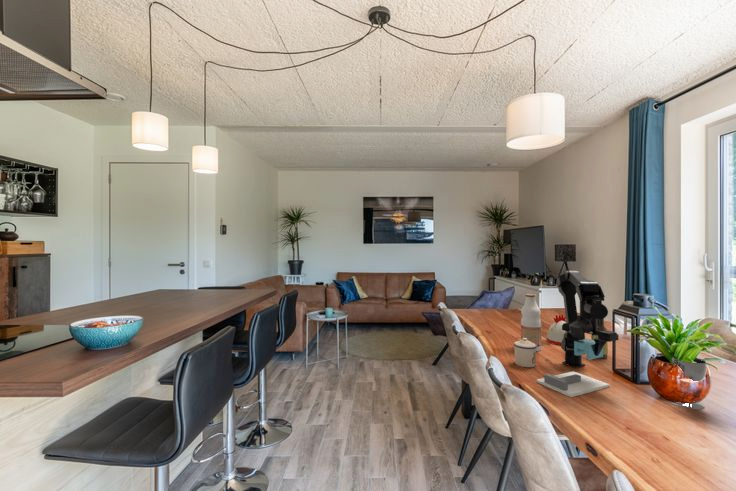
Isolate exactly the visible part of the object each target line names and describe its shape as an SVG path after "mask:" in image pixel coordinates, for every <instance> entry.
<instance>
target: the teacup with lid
mask: <svg viewBox="0 0 736 491" xmlns="http://www.w3.org/2000/svg"><path fill="white" fill-rule="evenodd" d="M513 346H514V364H515V365H517V366H519V367H523V368H534V367H536V366H537V351H536V345H535V344H534V343H532V342H530V341H528V340H527V338H523V340H521V339H520V340H517V341H515V342H514V343H513Z"/></svg>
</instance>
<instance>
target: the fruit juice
mask: <svg viewBox="0 0 736 491" xmlns="http://www.w3.org/2000/svg"><path fill="white" fill-rule="evenodd" d="M536 298H537V294H534V293H526V294H525V302H524V304H523V306H522V307H521V310H520V313H521V318H520V340H523V338H527V340H528V341H530V342H532V343H534V344H535V345H536V352H540V351H541V350H542V320H541V315H542V310H541V309H540V307H539V305H538V303H537V300H536Z"/></svg>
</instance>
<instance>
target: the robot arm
mask: <svg viewBox="0 0 736 491" xmlns="http://www.w3.org/2000/svg"><path fill="white" fill-rule="evenodd" d="M556 288H557V289H558V292H559V293H560V295H561V296H562V297H563V304H564V312H565V313H564V314H565V317H566V319H565V321H566V323H564V324H563V325H562V330H564V331H565V333H564V338H563V340H562V342H561V345H560V346H561V350H562V351H563V352H565V353H564V361H562V362H561V363H562V364H564V365H567V366H570V367H573V368H581V367H585V366H586V364H585V363H583V362H582V356H583V355H579V356H576V355H574V341H577V340H582V339H586V335H585V334H587V335H591V334H592V335H596V336H597V338H596V339H593V340H594V341H595V355H596V356H598V355H599V353H600V352H601V350H602V348H603V346H604V345H605V344H606V342H607V343H610V342H611V343H612V342H615V341H616V342H617V341H619V334H618V333H617V332H616V331H611V330H606V331H597V330H599V327H597V320H598V319H603V318H604V319H605V318H606V317H608V315H609V310H608V307H607V306H606V305H605V304H603V303H602V302H604V301H605V297H606V296H605V294H604V291H603V289H602V287H601V285H600V284H599V283H598V281H595V280H591V279H590V280H589V279H587V277H585V276H584V275H582V274H581V273H580V271H578V270H566V271H565V272H564V273H563V274H561V275H559V276H558V278H557V279H556ZM576 294H577V296H578V299H579V315H578V310H577V302H576Z"/></svg>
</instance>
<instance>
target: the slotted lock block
mask: <svg viewBox="0 0 736 491" xmlns="http://www.w3.org/2000/svg"><path fill="white" fill-rule="evenodd" d="M574 355H576V356H579V355H582V356H583V355H586V360H593V359H601V358H600V357H603V348H602V350H601V352H600V353H599V355H598V356H596V355H595V341H594V340H591V338H585V339H582V340H577V341H574Z"/></svg>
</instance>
